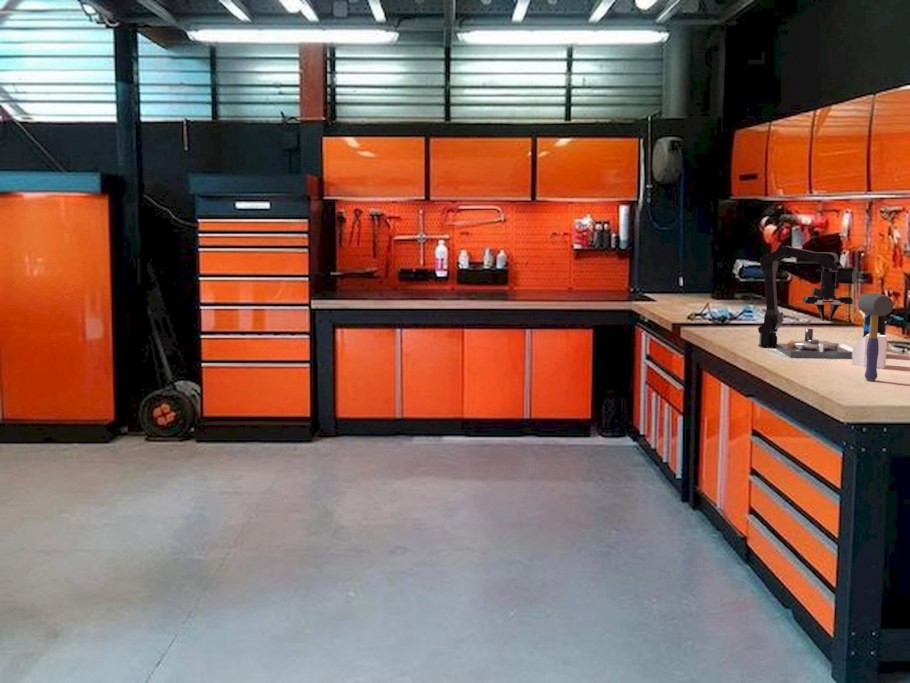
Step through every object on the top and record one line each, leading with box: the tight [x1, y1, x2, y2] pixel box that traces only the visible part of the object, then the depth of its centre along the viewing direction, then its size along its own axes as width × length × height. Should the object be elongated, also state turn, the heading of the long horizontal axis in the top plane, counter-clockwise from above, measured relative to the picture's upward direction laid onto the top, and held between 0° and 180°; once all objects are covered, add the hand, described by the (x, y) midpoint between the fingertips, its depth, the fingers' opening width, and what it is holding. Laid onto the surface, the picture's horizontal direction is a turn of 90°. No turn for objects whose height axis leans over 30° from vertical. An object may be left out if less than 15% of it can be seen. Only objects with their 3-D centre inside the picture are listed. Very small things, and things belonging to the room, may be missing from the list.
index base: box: [775, 343, 853, 359], centre depth 388 cm, size 24×24×6 cm
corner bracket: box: [851, 333, 888, 370], centre depth 357 cm, size 11×11×12 cm
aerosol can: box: [862, 313, 887, 338], centre depth 381 cm, size 8×8×20 cm
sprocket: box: [787, 328, 840, 350], centre depth 387 cm, size 20×20×7 cm
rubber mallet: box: [857, 292, 894, 382], centre depth 322 cm, size 12×8×30 cm, turn 2°
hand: (826, 320), depth 392 cm, fingers open, 3 cm apart
